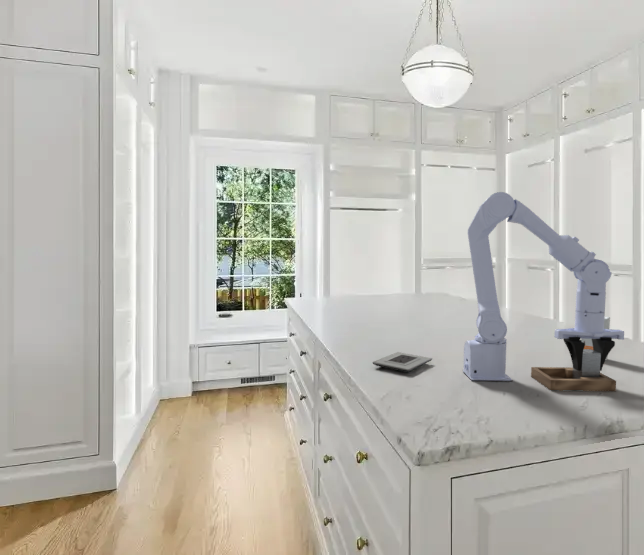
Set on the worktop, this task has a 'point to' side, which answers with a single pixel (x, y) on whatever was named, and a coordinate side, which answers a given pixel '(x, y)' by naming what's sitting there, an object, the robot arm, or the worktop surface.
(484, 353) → the robot arm
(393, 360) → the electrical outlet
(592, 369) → the metal peg
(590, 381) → the wooden tray
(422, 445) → the worktop surface
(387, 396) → the worktop surface
